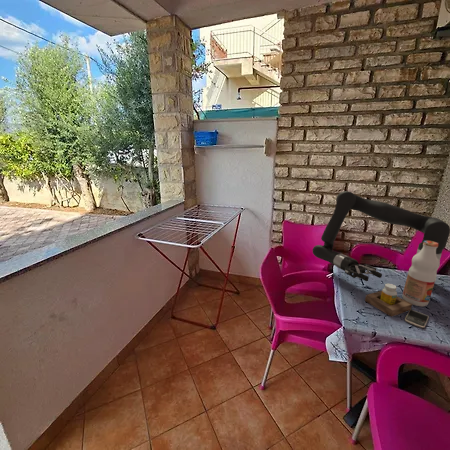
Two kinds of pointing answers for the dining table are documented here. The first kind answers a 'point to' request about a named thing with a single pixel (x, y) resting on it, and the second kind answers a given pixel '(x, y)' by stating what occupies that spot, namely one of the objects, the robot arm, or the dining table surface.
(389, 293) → the supplement bottle
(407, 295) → the fruit juice
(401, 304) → the walnut holder
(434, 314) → the dining table surface
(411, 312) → the cell phone
